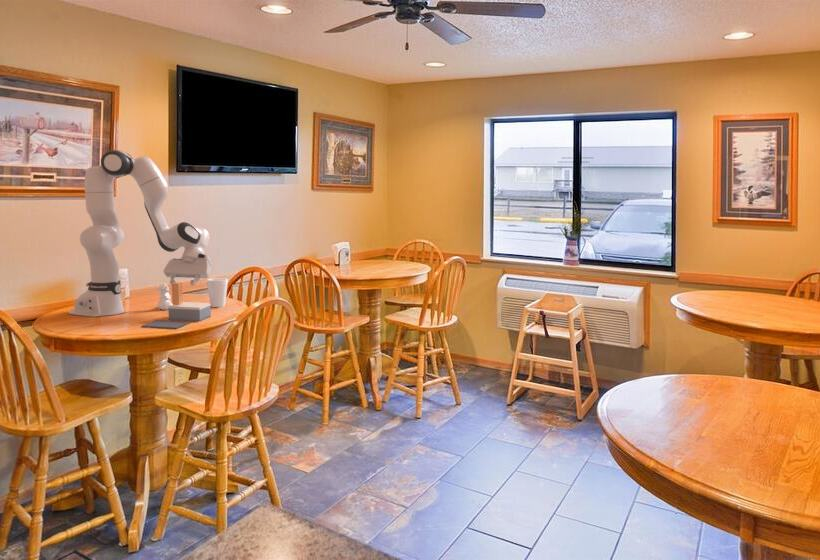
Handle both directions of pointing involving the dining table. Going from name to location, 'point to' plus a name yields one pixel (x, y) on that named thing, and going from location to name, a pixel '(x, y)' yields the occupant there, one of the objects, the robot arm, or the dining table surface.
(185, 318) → the tub
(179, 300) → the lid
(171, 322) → the mat
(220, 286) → the foam cup
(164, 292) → the white creature statuette
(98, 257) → the robot arm
